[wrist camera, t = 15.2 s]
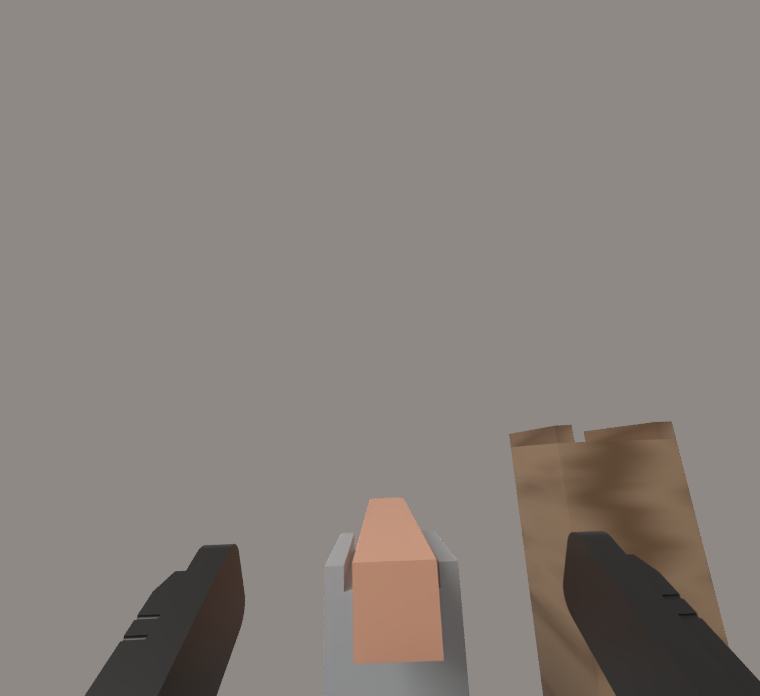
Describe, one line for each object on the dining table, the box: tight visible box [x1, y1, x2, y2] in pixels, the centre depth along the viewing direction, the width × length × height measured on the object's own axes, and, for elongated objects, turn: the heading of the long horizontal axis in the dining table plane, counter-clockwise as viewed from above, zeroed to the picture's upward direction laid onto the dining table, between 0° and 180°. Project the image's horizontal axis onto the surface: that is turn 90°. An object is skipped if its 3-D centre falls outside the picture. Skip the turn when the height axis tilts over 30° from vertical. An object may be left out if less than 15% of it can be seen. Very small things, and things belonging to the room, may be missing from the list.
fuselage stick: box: [352, 497, 444, 664], centre depth 23 cm, size 3×22×3 cm, turn 0°
